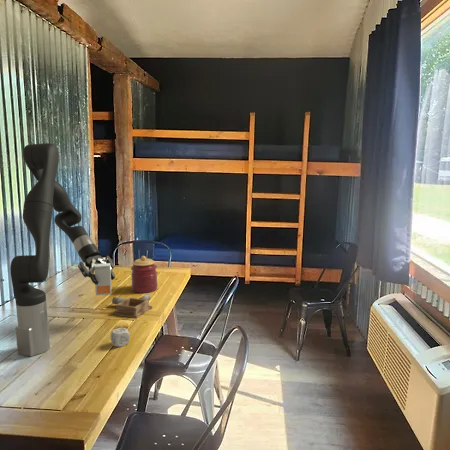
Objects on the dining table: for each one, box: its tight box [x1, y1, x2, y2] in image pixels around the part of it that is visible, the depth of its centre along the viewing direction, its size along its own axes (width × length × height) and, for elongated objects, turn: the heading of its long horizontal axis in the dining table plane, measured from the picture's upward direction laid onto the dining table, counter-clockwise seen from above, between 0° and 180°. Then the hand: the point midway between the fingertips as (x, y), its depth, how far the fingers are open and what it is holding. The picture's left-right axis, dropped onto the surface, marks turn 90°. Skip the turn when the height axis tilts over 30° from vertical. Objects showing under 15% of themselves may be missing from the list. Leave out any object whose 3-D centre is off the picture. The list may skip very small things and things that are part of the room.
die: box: [110, 327, 131, 348], centre depth 139 cm, size 5×5×5 cm
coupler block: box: [111, 293, 153, 319], centre depth 173 cm, size 18×18×4 cm
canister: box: [130, 255, 158, 294], centre depth 199 cm, size 13×13×18 cm
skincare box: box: [94, 263, 112, 296], centre depth 156 cm, size 6×4×12 cm
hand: (105, 280), depth 156 cm, fingers closed on skincare box, 7 cm apart
